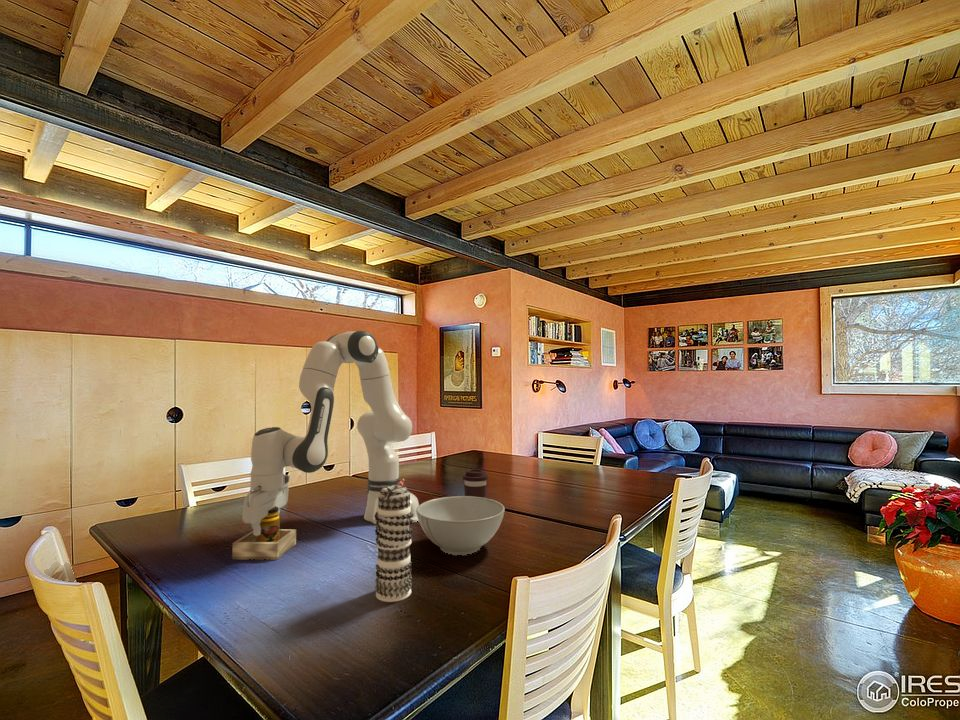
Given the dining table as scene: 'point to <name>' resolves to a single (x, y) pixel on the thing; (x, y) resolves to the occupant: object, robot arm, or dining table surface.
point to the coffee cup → (475, 483)
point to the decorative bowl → (460, 522)
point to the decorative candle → (393, 544)
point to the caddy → (263, 546)
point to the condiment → (270, 527)
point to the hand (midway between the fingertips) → (266, 529)
